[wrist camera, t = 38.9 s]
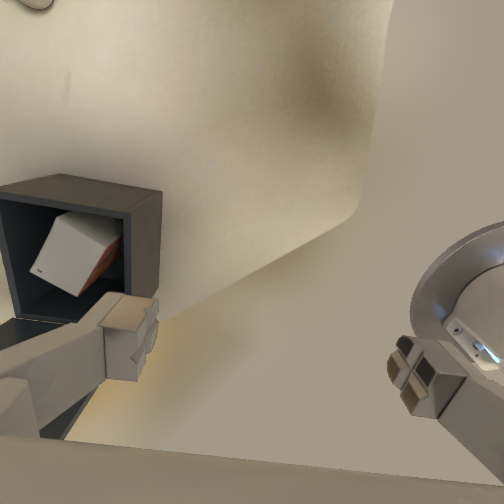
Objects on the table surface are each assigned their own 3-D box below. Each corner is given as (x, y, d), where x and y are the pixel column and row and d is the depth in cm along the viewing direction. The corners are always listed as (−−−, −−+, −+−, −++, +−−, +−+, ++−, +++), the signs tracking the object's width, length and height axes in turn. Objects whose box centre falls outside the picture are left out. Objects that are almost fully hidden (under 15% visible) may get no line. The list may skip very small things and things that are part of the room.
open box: (59, 173, 35) (-14, 188, 25) (162, 191, 36) (131, 213, 26) (71, 273, 41) (15, 318, 31) (158, 286, 42) (131, 333, 33)
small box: (118, 259, 39) (76, 299, 30) (82, 237, 38) (26, 273, 28) (144, 218, 37) (107, 248, 27) (107, 194, 35) (55, 216, 26)
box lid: (-225, 474, 15) (-195, 528, 17) (23, 492, 16) (29, 541, 18) (12, 317, 31) (16, 352, 32) (130, 332, 32) (128, 366, 34)
